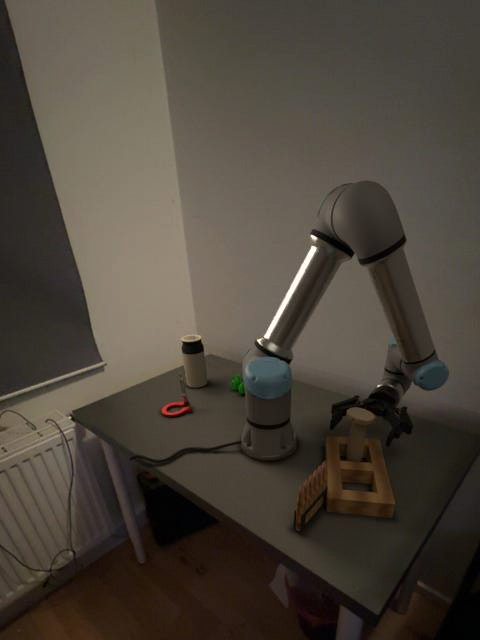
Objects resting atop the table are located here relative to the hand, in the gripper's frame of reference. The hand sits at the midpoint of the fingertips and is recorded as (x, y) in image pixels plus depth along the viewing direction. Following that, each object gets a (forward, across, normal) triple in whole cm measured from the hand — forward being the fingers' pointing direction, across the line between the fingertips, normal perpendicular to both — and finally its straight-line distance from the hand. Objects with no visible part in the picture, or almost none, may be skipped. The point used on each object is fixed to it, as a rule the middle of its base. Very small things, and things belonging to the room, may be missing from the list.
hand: (358, 433), depth 83 cm
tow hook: (+3, +59, -10) cm, 60 cm away
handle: (0, 0, -10) cm, 10 cm away
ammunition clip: (+22, +1, -10) cm, 24 cm away
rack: (+5, -2, -9) cm, 11 cm away
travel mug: (-16, +67, -10) cm, 70 cm away
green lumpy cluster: (-23, +47, -10) cm, 54 cm away
